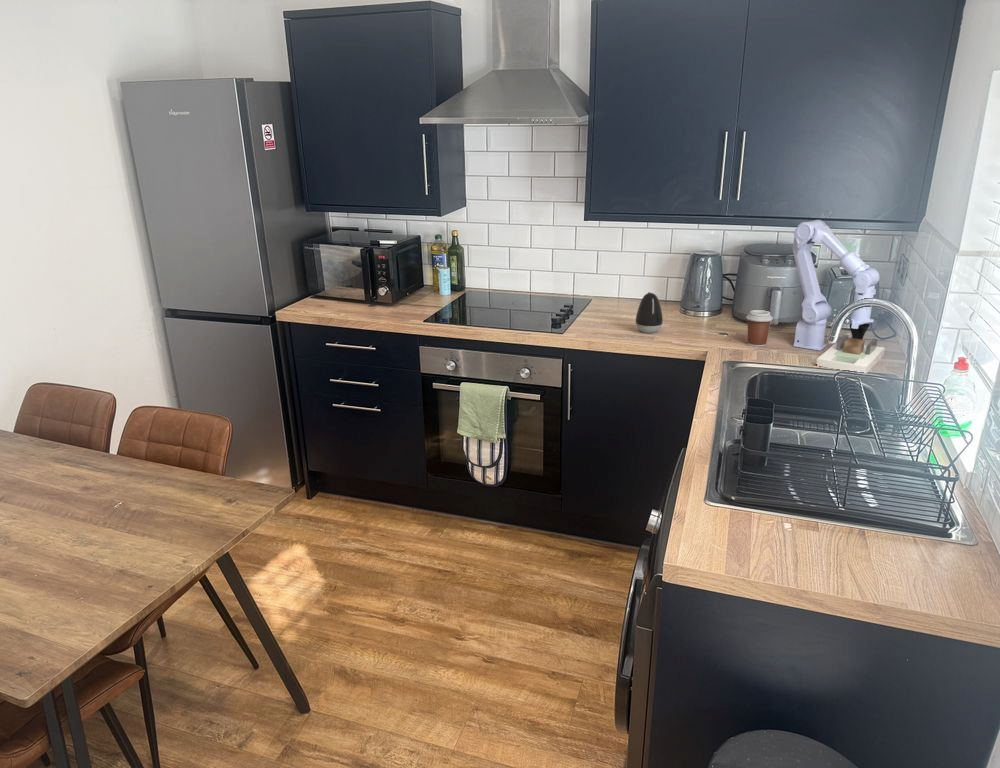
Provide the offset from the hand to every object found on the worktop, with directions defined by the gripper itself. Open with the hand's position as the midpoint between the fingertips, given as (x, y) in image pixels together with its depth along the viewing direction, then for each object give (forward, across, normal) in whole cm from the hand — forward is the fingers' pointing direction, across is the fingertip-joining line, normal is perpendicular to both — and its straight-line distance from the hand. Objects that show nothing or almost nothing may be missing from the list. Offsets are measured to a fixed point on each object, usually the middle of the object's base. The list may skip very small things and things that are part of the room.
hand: (856, 344), depth 249 cm
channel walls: (+1, 0, 0) cm, 2 cm away
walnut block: (+2, -4, 0) cm, 4 cm away
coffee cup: (+4, -4, +32) cm, 33 cm away
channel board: (+4, -6, 0) cm, 7 cm away
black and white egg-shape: (+4, -10, +72) cm, 73 cm away
